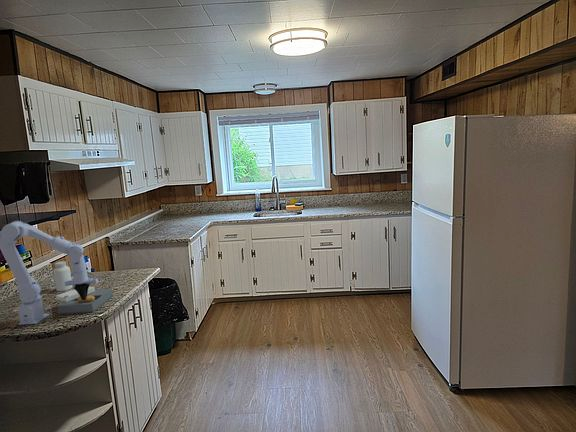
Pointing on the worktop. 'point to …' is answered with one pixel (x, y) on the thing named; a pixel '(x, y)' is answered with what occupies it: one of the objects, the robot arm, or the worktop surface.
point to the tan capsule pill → (88, 298)
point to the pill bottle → (62, 276)
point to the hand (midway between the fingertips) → (84, 299)
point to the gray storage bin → (86, 303)
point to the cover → (72, 294)
